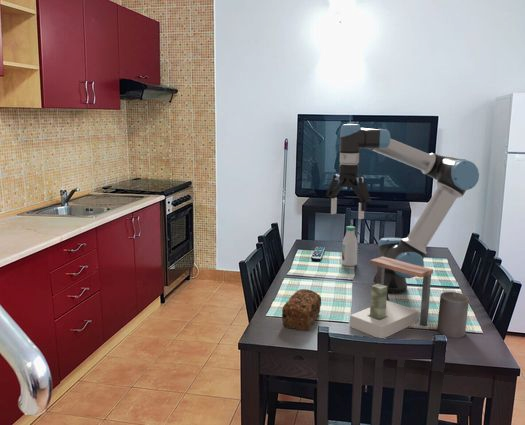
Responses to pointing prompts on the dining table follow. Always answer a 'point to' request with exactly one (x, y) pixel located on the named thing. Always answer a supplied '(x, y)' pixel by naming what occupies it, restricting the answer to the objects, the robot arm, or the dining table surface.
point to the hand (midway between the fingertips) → (347, 216)
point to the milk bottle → (349, 247)
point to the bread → (301, 310)
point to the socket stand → (395, 313)
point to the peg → (378, 301)
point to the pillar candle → (452, 314)
